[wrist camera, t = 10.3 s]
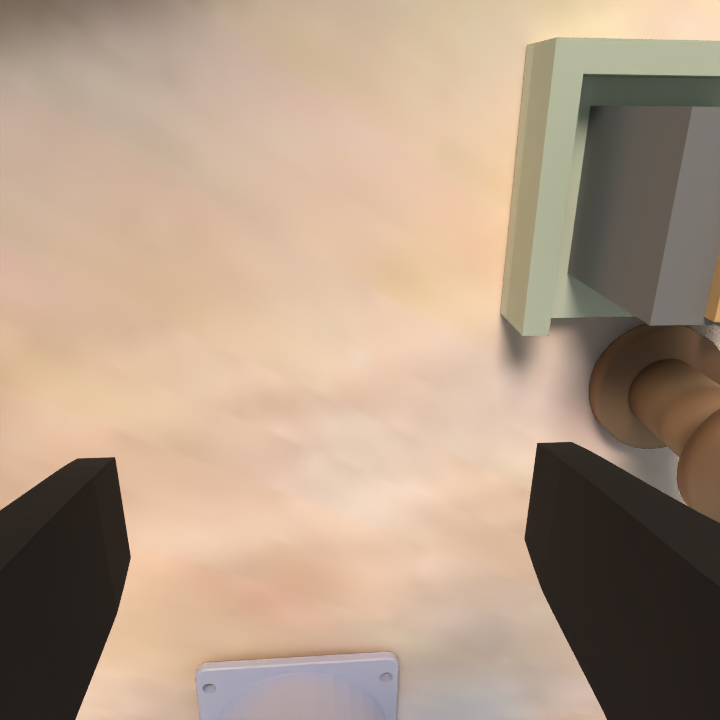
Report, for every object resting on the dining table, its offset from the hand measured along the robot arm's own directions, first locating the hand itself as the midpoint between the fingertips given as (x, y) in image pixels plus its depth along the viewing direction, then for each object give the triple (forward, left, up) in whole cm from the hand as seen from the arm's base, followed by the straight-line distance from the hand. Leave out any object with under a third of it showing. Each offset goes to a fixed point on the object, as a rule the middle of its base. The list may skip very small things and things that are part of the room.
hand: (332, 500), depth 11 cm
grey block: (+4, -10, -9) cm, 14 cm away
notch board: (+4, -10, -10) cm, 14 cm away
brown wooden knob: (-2, -12, -10) cm, 15 cm away
